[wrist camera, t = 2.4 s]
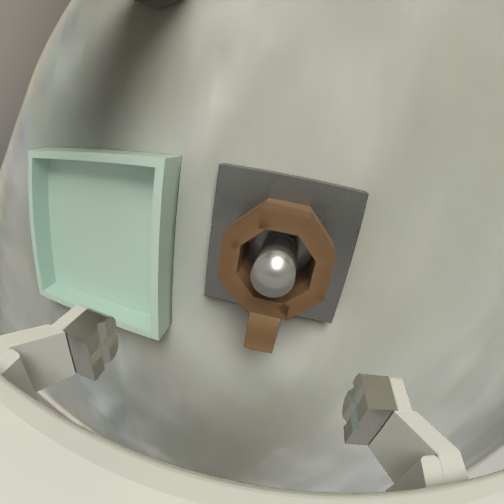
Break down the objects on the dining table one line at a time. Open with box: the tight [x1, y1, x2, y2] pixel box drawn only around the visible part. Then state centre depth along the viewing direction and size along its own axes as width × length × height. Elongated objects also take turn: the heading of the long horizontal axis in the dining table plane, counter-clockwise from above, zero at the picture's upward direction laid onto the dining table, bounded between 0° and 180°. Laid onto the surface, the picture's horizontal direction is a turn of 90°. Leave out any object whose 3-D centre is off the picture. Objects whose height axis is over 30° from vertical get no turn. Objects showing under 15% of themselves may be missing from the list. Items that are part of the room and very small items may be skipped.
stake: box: [205, 163, 368, 323], centre depth 17 cm, size 9×9×5 cm
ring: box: [218, 198, 337, 353], centre depth 18 cm, size 9×6×3 cm
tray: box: [28, 147, 182, 341], centre depth 21 cm, size 13×13×2 cm
